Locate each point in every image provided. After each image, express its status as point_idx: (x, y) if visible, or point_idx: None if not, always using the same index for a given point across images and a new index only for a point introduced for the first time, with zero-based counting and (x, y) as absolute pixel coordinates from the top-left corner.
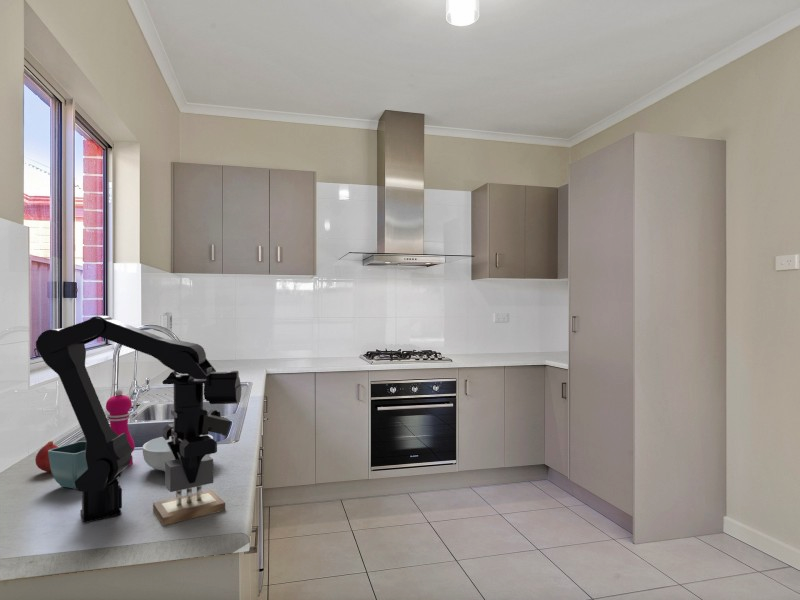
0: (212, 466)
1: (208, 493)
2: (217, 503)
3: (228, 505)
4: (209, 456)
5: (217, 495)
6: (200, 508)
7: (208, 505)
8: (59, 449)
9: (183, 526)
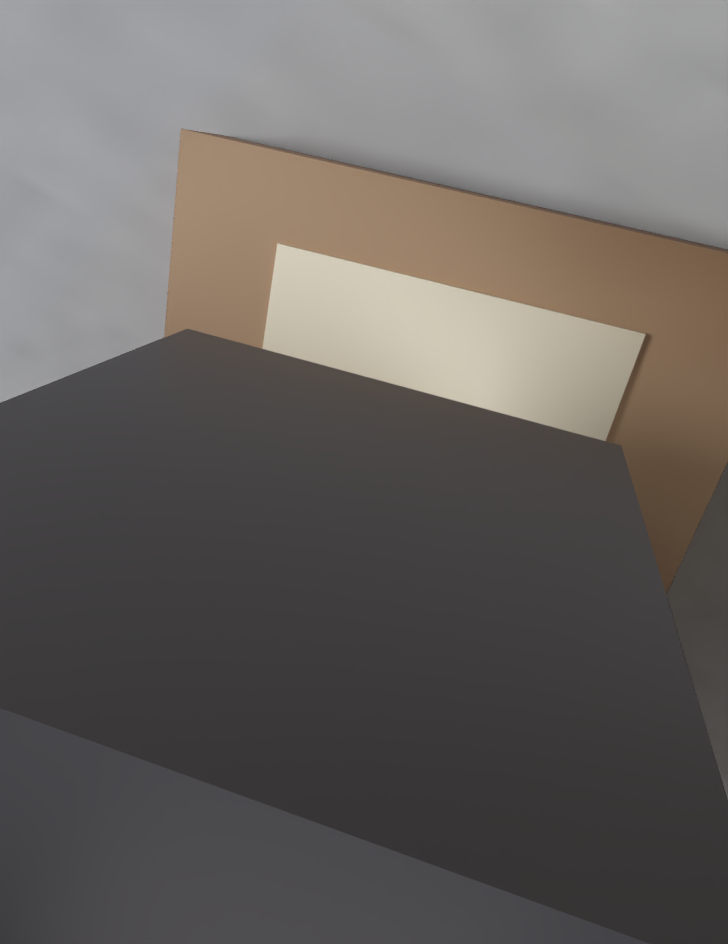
0: (680, 700)
1: (295, 255)
2: (724, 364)
3: (683, 140)
4: (121, 775)
5: (452, 196)
6: (662, 582)
7: (668, 475)
8: None
9: (719, 750)
